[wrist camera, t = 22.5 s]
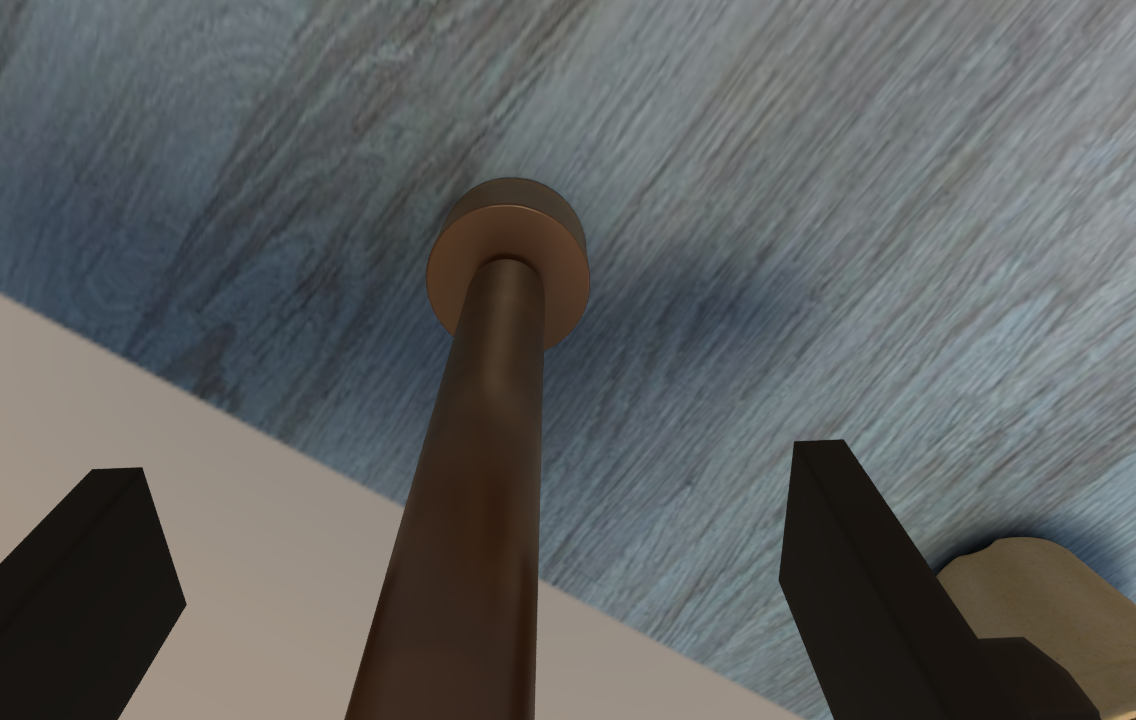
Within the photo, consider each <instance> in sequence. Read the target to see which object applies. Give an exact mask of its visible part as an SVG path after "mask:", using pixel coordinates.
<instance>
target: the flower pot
mask: <svg viewBox="0 0 1136 720" xmlns="http://www.w3.org/2000/svg"><path fill="white" fill-rule="evenodd" d="M936 577H937V579H938V580H939V582H940V583H941V585H942V586H943V587H944V589H945V590H946V592H947V593H948V595H949V596H950V598H951V599H952V601H953V602H954V604H955V605H956V607H957V608H958V610H959V611H960V613H961V614H962V616H963V617H964V619H965V620H966V622H967V623H968V625H969V626H970V627H971V629H972V630H973V632H974V633H975V635H976V636H977V638H978V639H980V638H1004V637H1024V638H1026V639H1027V640H1028V641H1030V642H1031V643H1032V644H1034V645H1035V646H1036V647H1037V648H1039V649H1040V650H1041V651H1043V652H1044V653H1045V654H1047V655H1048V656H1049V657H1050V658H1052V659H1053V660H1054V661H1056V662H1057V663H1058V664H1060V665H1061V666H1062V667H1063V668H1065V669H1066V670H1067V671H1068V672H1069V673H1070V674H1071V676H1072V677H1073V678H1074V680H1075V681H1076V682H1077V683H1078V685H1079V686H1080V687H1081V689H1082V690H1083V691H1084V692H1085V694H1086V695H1087V696H1088V698H1089V699H1090V700H1091V701H1092V703H1093V704H1094V705H1095V707H1096V708H1097V709H1098V710H1099V712H1100V718H1101V719H1102V720H1136V605H1135V604H1134V603H1133V602H1132V601H1130V600H1129V599H1128V598H1127V597H1125V596H1124V595H1123V594H1122V593H1120V592H1119V591H1118V590H1116V589H1115V588H1114V587H1113V586H1111V585H1110V584H1109V583H1108V582H1107V581H1105V580H1104V579H1103V578H1102V577H1100V576H1099V575H1098V574H1097V573H1095V572H1094V571H1093V570H1092V569H1091V568H1089V567H1088V566H1087V565H1086V564H1085V563H1083V562H1082V561H1081V560H1080V559H1079V558H1077V557H1076V556H1075V555H1074V554H1073V553H1071V552H1070V551H1069V550H1067V549H1066V548H1064V547H1062V546H1060V545H1058V544H1056V543H1054V542H1051V541H1048V540H1044V539H1040V538H1032V537H1011V538H1004V539H998V540H996V541H994V542H993V543H992V545H990V546H989V547H987V548H985V549H984V550H981V551H979V552H976V553H973V554H969V555H963V556H958V557H957V558H955V559H954V560H953V561H951V562H950V563H949V564H948V565H947V566H945V567H944V568H943V569H942V570H941V571H940V573H939V574H938V575H937V576H936Z"/></svg>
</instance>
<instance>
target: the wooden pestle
mask: <svg viewBox="0 0 1136 720" xmlns="http://www.w3.org/2000/svg"><path fill="white" fill-rule="evenodd" d="M426 289H427V293H428V298H429V301H430V304H431V307H432V309H433V311H434V313H435V315H436V317H437V318H438V320H439V321H440V323H441V324H442V326H443V327H444V328H445V329H446V330H447V331H448V332H449V333H450V334H451V335H452V336H453V337H454V339H453V342H452V345H451V349H450V352H449V356H448V359H447V363H446V366H445V370H444V373H443V377H442V380H441V384H440V387H439V391H438V394H437V398H436V401H435V405H434V408H433V412H432V415H431V419H430V422H429V426H428V429H427V433H426V436H425V440H424V443H423V447H422V450H421V454H420V457H419V461H418V464H417V468H416V471H415V475H414V478H413V482H412V485H411V489H410V492H409V496H408V499H407V503H406V506H405V510H404V513H403V517H402V520H401V524H400V527H399V531H398V534H397V538H396V541H395V545H394V548H393V552H392V555H391V559H390V562H389V566H388V569H387V573H386V576H385V580H384V583H383V587H382V590H381V593H380V597H379V601H378V604H377V607H376V611H375V615H374V618H373V622H372V625H371V628H370V632H369V635H368V639H367V642H366V646H365V649H364V653H363V657H362V660H361V663H360V667H359V671H358V674H357V677H356V681H355V684H354V688H353V691H352V695H351V699H350V702H349V706H348V709H347V712H346V716H345V719H344V720H534V718H535V717H534V716H535V679H536V640H537V600H538V562H539V523H540V483H541V444H542V405H543V366H544V351H545V350H547V349H549V348H551V347H553V346H554V345H556V344H557V343H559V342H560V341H562V340H563V339H564V338H565V337H566V336H567V335H569V333H570V332H571V331H572V330H573V329H574V328H575V327H576V325H577V323H578V322H579V320H580V319H581V317H582V315H583V313H584V311H585V308H586V305H587V302H588V298H589V292H590V273H589V265H588V257H587V249H586V241H585V236H584V232H583V228H582V226H581V223H580V221H579V219H578V217H577V215H576V213H575V212H574V210H573V209H572V208H571V206H570V205H569V204H568V203H567V202H566V201H565V200H564V199H563V198H562V197H561V196H560V195H558V194H557V193H556V192H555V191H553V190H551V189H550V188H548V187H546V186H544V185H542V184H539V183H537V182H534V181H530V180H526V179H519V178H504V179H496V180H492V181H489V182H486V183H483V184H481V185H479V186H477V187H475V188H473V189H472V190H470V191H469V192H467V193H466V194H465V195H464V196H462V197H461V198H460V199H459V200H458V202H457V203H456V204H455V205H454V206H453V208H452V209H451V211H450V212H449V214H448V216H447V218H446V220H445V222H444V224H443V226H442V229H441V231H440V233H439V235H438V237H437V239H436V241H435V243H434V246H433V248H432V250H431V253H430V256H429V259H428V263H427V268H426Z"/></svg>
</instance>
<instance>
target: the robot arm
mask: <svg viewBox="0 0 1136 720" xmlns="http://www.w3.org/2000/svg"><path fill="white" fill-rule="evenodd" d="M779 583H780V585H781V588H782V590H783V593H784V595H785V598H786V600H787V603H788V605H789V608H790V610H791V613H792V615H793V618H794V620H795V623H796V625H797V628H798V630H799V633H800V635H801V638H802V640H803V643H804V645H805V648H806V650H807V653H808V655H809V658H810V660H811V663H812V665H813V668H814V670H815V673H816V675H817V678H818V680H819V683H820V685H821V688H822V690H823V693H824V695H825V698H826V700H827V703H828V705H829V708H830V711H831V713H832V716H833V718H834V720H1102V719H1101V718H1100V712H1099V710H1098V709H1097V708H1096V707H1095V705H1094V704H1093V703H1092V701H1091V700H1090V699H1089V698H1088V696H1087V695H1086V694H1085V692H1084V691H1083V690H1082V689H1081V687H1080V686H1079V685H1078V683H1077V682H1076V681H1075V680H1074V678H1073V677H1072V676H1071V674H1070V673H1069V672H1068V671H1067V670H1066V669H1065V668H1063V667H1062V666H1061V665H1060V664H1058V663H1057V662H1056V661H1054V660H1053V659H1052V658H1050V657H1049V656H1048V655H1047V654H1045V653H1044V652H1043V651H1041V650H1040V649H1039V648H1037V647H1036V646H1035V645H1034V644H1032V643H1031V642H1030V641H1028V640H1027V639H1026V638H1024V637H1004V638H980V639H978V638H977V636H976V635H975V633H974V632H973V630H972V629H971V627H970V626H969V625H968V623H967V622H966V620H965V619H964V617H963V616H962V614H961V613H960V611H959V610H958V608H957V607H956V605H955V604H954V602H953V601H952V599H951V598H950V596H949V595H948V593H947V592H946V590H945V589H944V587H943V586H942V585H941V583H940V582H939V580H938V579H937V577H936V576H935V574H934V573H933V571H932V570H931V568H930V567H929V565H928V564H927V562H926V561H925V559H924V558H923V556H922V555H921V553H920V552H919V550H918V549H917V547H916V546H915V545H914V543H913V542H912V540H911V539H910V537H909V536H908V534H907V533H906V531H905V530H904V528H903V527H902V525H901V524H900V522H899V521H898V519H897V518H896V516H895V515H894V513H893V512H892V510H891V509H890V507H889V506H888V505H887V503H886V502H885V500H884V499H883V497H882V496H881V494H880V493H879V491H878V490H877V488H876V487H875V485H874V484H873V482H872V481H871V479H870V478H869V476H868V475H867V473H866V472H865V470H864V469H863V467H862V466H861V465H860V463H859V462H858V460H857V459H856V457H855V456H854V454H853V453H852V451H851V450H850V448H849V447H848V445H847V444H846V442H845V441H844V439H843V440H818V441H794V448H793V457H792V466H791V475H790V484H789V492H788V501H787V510H786V519H785V528H784V537H783V546H782V555H781V564H780V573H779ZM186 605H187V604H186V601H185V598H184V595H183V592H182V589H181V586H180V583H179V580H178V577H177V573H176V570H175V567H174V564H173V561H172V558H171V555H170V552H169V549H168V545H167V542H166V539H165V536H164V533H163V530H162V527H161V524H160V521H159V518H158V515H157V511H156V508H155V505H154V502H153V499H152V496H151V493H150V490H149V487H148V484H147V481H146V478H145V475H144V471H143V468H142V467H140V468H139V467H138V468H114V469H113V468H112V469H92V470H91V471H90V472H89V473H88V474H87V475H86V476H85V477H84V478H83V479H82V480H81V481H80V482H79V483H78V484H77V485H76V486H75V487H74V488H73V489H72V490H71V492H70V493H69V494H68V495H67V496H66V497H65V498H64V499H63V500H62V501H61V502H60V503H59V504H58V505H57V506H56V507H55V508H54V509H53V510H52V511H51V512H50V513H49V514H48V515H47V516H46V517H45V518H44V519H43V520H42V521H41V522H40V523H39V524H38V525H37V526H36V527H35V528H34V530H32V532H31V533H30V534H29V535H28V536H27V537H26V538H25V539H24V540H23V541H22V542H21V543H20V544H19V545H18V546H17V547H16V548H15V549H14V550H13V551H12V552H11V553H10V554H9V555H8V556H7V557H6V558H5V559H4V560H3V561H2V562H1V563H0V720H118V718H119V717H120V715H121V713H122V712H123V710H124V708H125V707H126V705H127V703H128V702H129V700H130V698H131V697H132V695H133V693H134V692H135V690H136V688H137V687H138V685H139V683H140V682H141V680H142V678H143V676H144V675H145V673H146V672H147V670H148V668H149V667H150V665H151V663H152V662H153V660H154V658H155V657H156V655H157V653H158V651H159V650H160V648H161V647H162V645H163V643H164V642H165V640H166V638H167V637H168V635H169V633H170V632H171V630H172V628H173V627H174V625H175V623H176V622H177V620H178V618H179V617H180V615H181V613H182V611H183V610H184V608H185V607H186Z"/></svg>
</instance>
